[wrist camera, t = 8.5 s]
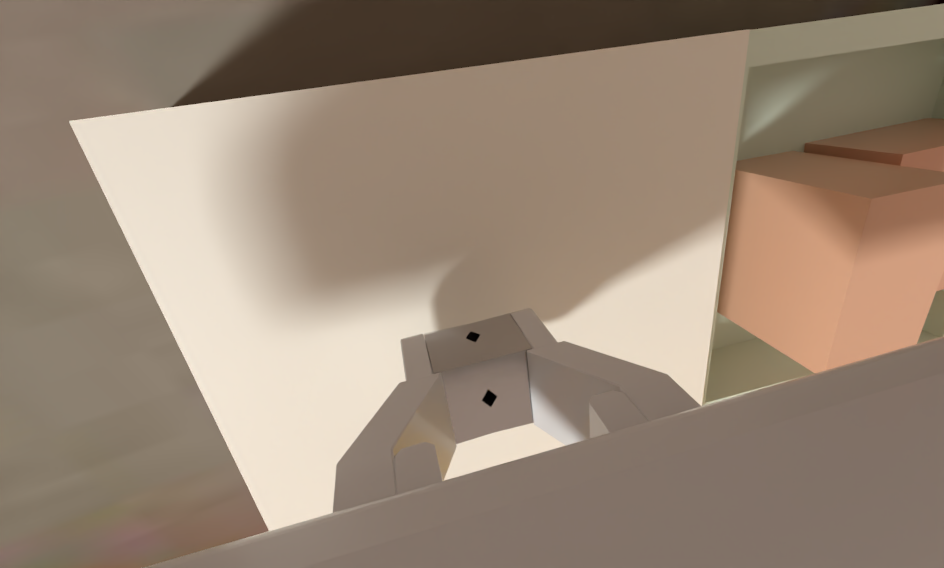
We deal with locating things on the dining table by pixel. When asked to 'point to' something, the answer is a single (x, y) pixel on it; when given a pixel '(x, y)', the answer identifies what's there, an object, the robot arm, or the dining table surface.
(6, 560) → the dining table surface
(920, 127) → the salmon pink box
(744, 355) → the tray
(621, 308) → the panel
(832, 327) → the salmon pink block
